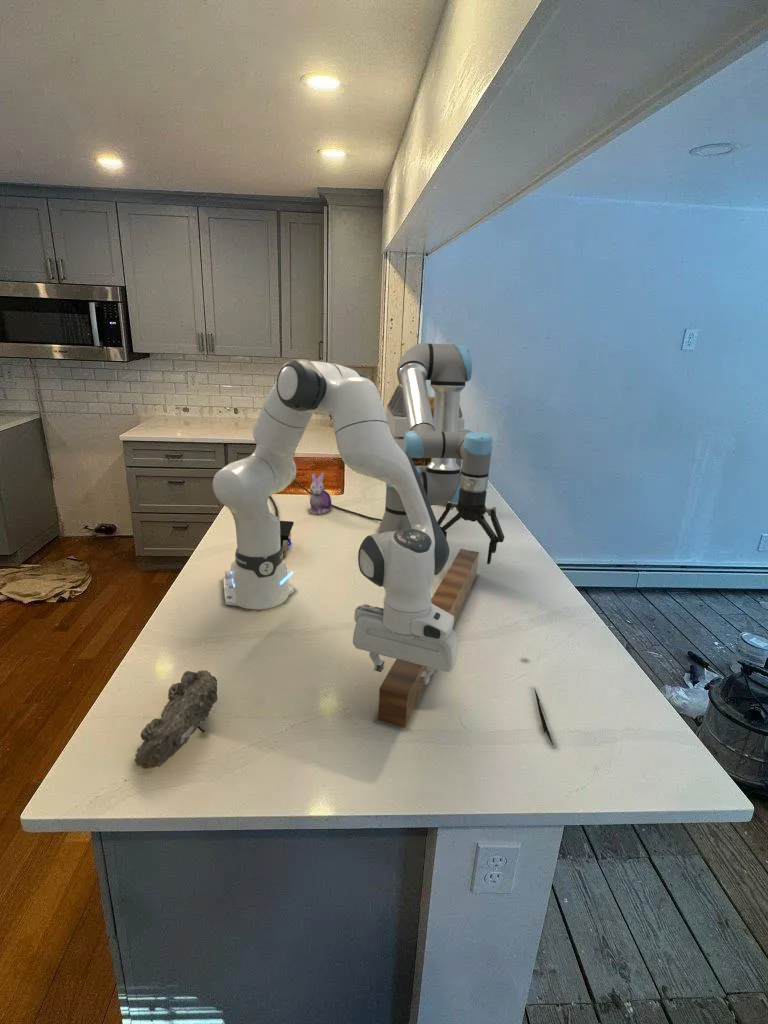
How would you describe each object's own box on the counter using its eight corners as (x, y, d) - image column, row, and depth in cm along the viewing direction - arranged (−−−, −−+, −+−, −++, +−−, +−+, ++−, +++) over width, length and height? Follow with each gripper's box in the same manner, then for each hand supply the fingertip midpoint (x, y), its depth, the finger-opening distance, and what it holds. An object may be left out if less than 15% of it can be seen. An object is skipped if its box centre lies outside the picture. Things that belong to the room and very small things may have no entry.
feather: (525, 664, 131) (530, 658, 130) (552, 749, 104) (559, 742, 103) (519, 660, 130) (524, 654, 130) (545, 745, 104) (552, 738, 103)
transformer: (382, 463, 289) (386, 382, 275) (445, 464, 293) (451, 384, 279) (390, 482, 257) (394, 392, 243) (460, 483, 261) (468, 394, 247)
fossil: (167, 671, 114) (219, 638, 109) (200, 702, 116) (252, 671, 112) (109, 762, 94) (169, 727, 89) (151, 796, 97) (212, 765, 92)
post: (458, 571, 173) (460, 548, 170) (476, 575, 171) (479, 552, 169) (377, 720, 109) (379, 687, 107) (405, 728, 108) (407, 695, 105)
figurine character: (288, 562, 177) (294, 539, 190) (288, 541, 173) (294, 518, 187) (267, 561, 177) (274, 538, 190) (266, 540, 173) (273, 518, 187)
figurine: (313, 516, 212) (313, 478, 207) (304, 507, 221) (303, 470, 215) (336, 513, 216) (337, 475, 211) (326, 505, 225) (327, 468, 220)
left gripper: (348, 609, 107) (346, 671, 111) (455, 635, 101) (447, 699, 105) (361, 595, 112) (358, 654, 117) (462, 618, 106) (455, 679, 111)
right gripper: (426, 485, 157) (420, 554, 165) (516, 499, 150) (506, 571, 158) (433, 478, 164) (427, 545, 172) (520, 491, 157) (510, 560, 164)
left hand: (401, 675), depth 111 cm, fingers open, 8 cm apart
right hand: (465, 557), depth 165 cm, fingers open, 13 cm apart
